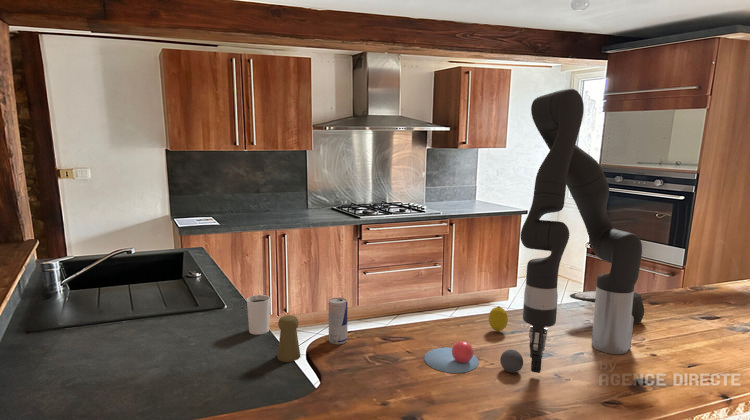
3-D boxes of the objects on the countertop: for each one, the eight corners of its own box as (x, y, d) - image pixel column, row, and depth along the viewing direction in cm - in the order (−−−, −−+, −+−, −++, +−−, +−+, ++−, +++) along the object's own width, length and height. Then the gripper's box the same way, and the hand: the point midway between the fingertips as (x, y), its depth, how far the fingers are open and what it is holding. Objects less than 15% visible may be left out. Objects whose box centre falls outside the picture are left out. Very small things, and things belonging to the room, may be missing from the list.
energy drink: (350, 339, 137) (350, 299, 135) (341, 346, 132) (341, 304, 130) (334, 335, 139) (334, 296, 137) (325, 342, 134) (324, 301, 133)
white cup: (259, 337, 138) (258, 303, 136) (242, 331, 141) (241, 299, 140) (275, 329, 143) (274, 297, 142) (259, 324, 147) (258, 293, 145)
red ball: (472, 339, 126) (460, 353, 128) (456, 334, 123) (444, 349, 125) (480, 354, 121) (468, 369, 123) (464, 350, 119) (452, 365, 121)
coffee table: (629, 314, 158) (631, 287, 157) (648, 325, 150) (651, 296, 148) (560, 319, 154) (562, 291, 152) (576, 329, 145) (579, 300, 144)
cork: (278, 351, 128) (277, 312, 127) (301, 351, 129) (300, 312, 127) (276, 362, 122) (275, 321, 121) (299, 361, 123) (299, 320, 121)
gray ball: (517, 346, 121) (510, 364, 122) (500, 344, 119) (492, 363, 120) (531, 358, 116) (522, 378, 118) (513, 356, 114) (505, 376, 115)
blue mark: (460, 345, 134) (460, 344, 134) (489, 367, 121) (489, 366, 121) (415, 352, 129) (415, 352, 129) (440, 376, 116) (440, 376, 116)
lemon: (505, 328, 146) (506, 303, 144) (508, 336, 140) (510, 310, 139) (487, 327, 146) (488, 302, 145) (489, 335, 141) (490, 309, 140)
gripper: (555, 314, 106) (550, 387, 109) (558, 296, 118) (553, 362, 120) (520, 309, 109) (516, 380, 112) (527, 292, 121) (523, 357, 123)
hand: (535, 371), depth 116 cm, fingers closed
